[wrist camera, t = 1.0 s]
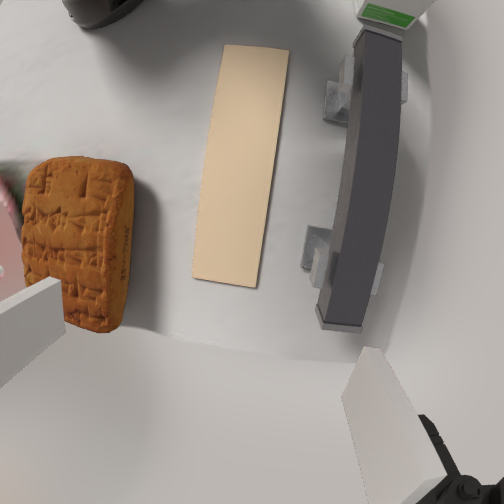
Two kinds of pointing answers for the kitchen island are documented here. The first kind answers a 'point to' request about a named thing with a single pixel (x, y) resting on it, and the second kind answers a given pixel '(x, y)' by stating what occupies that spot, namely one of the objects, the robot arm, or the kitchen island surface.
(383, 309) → the kitchen island surface
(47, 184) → the inscribed clay slab
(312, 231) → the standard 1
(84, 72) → the kitchen island surface
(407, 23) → the skincare box
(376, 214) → the rail
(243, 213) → the mat
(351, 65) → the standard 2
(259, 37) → the kitchen island surface
